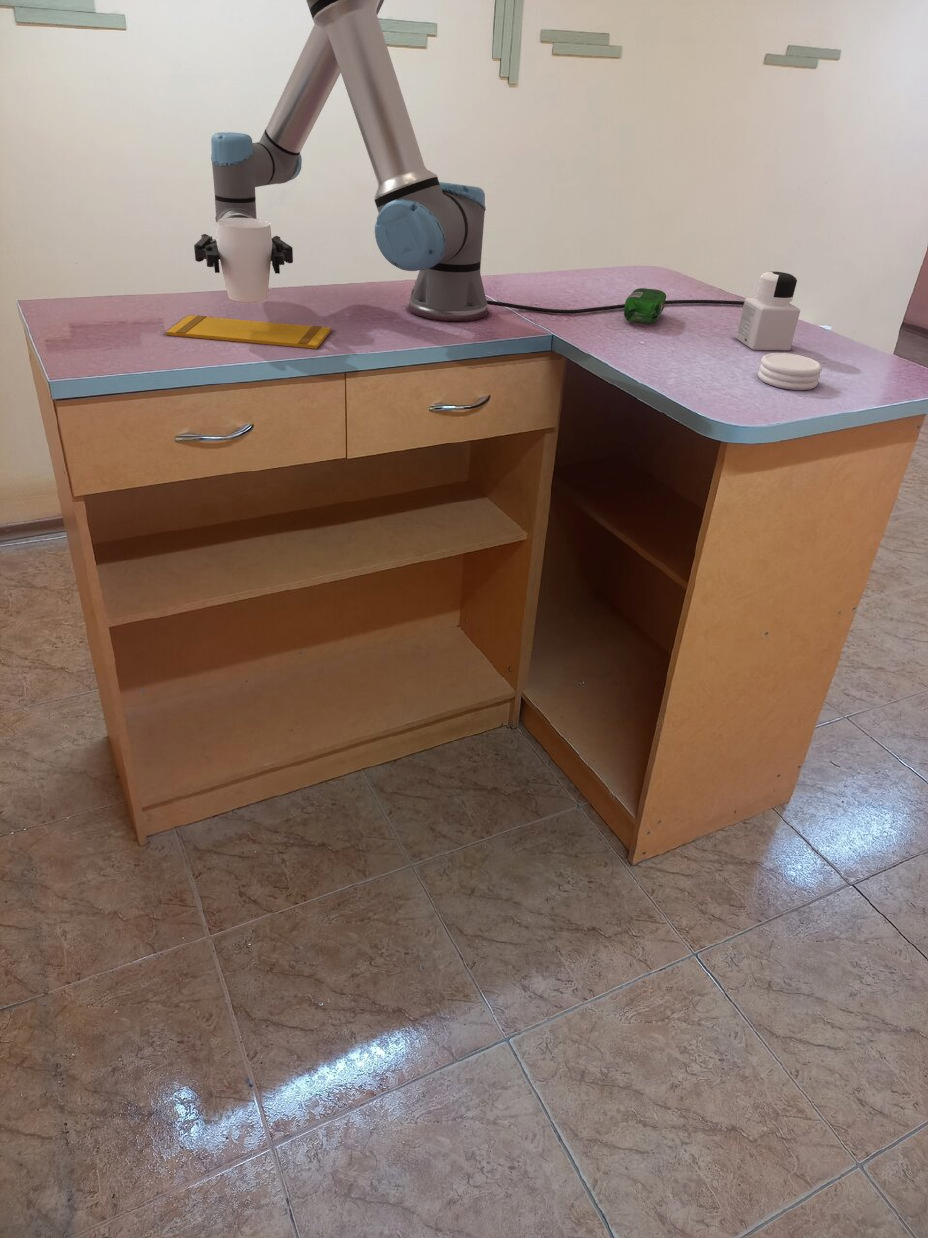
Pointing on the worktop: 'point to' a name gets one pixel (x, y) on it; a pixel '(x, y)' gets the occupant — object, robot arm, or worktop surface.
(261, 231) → the cup
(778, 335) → the container
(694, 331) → the worktop surface
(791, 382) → the coaster
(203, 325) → the towel
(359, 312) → the worktop surface
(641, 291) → the snack package
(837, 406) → the worktop surface
